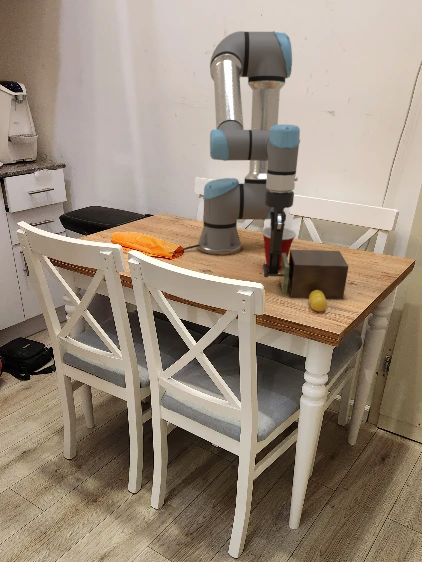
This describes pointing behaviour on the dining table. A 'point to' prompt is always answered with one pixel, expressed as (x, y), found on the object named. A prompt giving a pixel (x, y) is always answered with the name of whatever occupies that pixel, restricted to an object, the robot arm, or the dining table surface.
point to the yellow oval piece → (317, 300)
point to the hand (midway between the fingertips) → (272, 275)
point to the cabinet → (318, 273)
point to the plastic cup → (286, 242)
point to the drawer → (283, 272)
